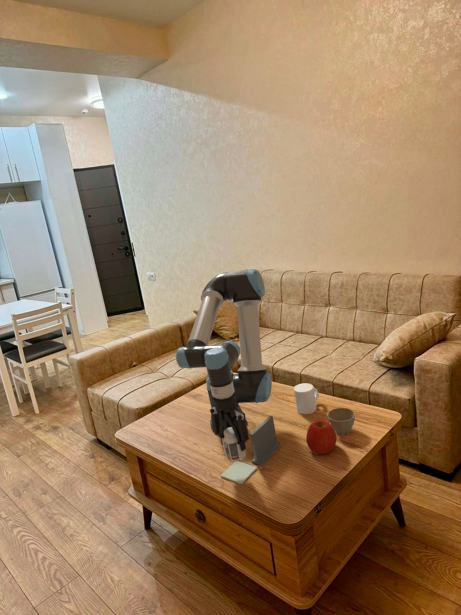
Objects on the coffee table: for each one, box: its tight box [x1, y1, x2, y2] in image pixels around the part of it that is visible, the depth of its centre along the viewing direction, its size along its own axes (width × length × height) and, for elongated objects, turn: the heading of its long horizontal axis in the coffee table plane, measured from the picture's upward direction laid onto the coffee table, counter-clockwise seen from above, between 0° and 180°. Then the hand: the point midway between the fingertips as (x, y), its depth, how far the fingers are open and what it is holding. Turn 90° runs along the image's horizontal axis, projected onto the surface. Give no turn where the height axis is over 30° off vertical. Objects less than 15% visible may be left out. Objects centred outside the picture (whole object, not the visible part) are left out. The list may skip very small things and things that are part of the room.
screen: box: [249, 415, 281, 466], centre depth 150 cm, size 4×13×12 cm, turn 141°
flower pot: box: [327, 407, 356, 436], centre depth 156 cm, size 10×10×7 cm
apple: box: [305, 419, 338, 455], centre depth 148 cm, size 11×11×11 cm
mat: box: [220, 460, 258, 485], centre depth 144 cm, size 9×9×1 cm
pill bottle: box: [224, 427, 240, 462], centre depth 141 cm, size 6×6×10 cm
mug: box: [293, 382, 320, 415], centre depth 177 cm, size 8×10×12 cm
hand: (235, 455), depth 142 cm, fingers closed on pill bottle, 6 cm apart
